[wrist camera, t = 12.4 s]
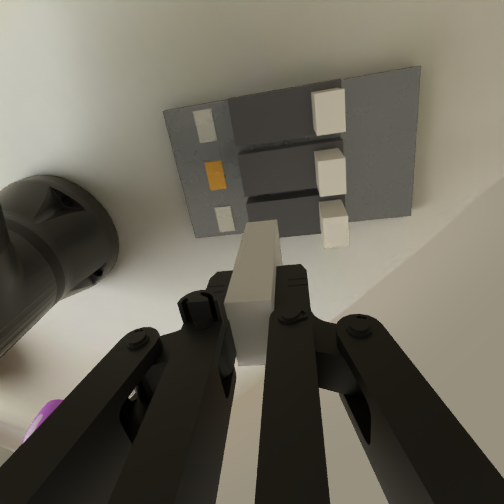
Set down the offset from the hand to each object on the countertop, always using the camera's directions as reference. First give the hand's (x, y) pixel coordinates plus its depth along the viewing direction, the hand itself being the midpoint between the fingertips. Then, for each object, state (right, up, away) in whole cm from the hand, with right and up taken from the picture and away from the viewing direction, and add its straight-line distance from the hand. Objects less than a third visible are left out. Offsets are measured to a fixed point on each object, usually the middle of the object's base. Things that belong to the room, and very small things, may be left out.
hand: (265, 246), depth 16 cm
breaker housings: (+3, +9, +17) cm, 19 cm away
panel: (+3, +9, +18) cm, 21 cm away
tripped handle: (+6, +8, +15) cm, 18 cm away
